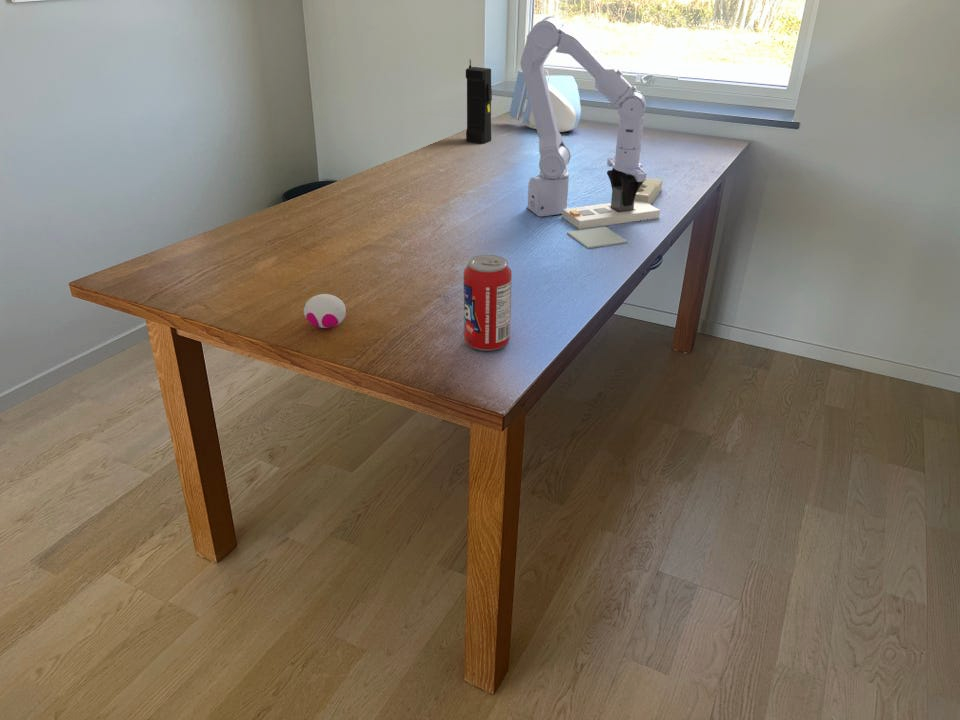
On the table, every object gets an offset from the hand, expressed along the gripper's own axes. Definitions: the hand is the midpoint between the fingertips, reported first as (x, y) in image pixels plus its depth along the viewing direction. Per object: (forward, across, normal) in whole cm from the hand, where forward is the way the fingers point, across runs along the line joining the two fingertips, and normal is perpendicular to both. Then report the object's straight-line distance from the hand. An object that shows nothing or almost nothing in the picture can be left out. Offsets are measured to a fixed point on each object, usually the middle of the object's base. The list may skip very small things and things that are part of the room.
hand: (622, 202), depth 183 cm
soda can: (+4, -48, +55) cm, 73 cm away
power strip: (+3, 0, +3) cm, 5 cm away
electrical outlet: (+4, +11, -12) cm, 17 cm away
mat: (+3, -11, +13) cm, 17 cm away
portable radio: (+4, +80, +6) cm, 80 cm away
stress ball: (+4, -32, +80) cm, 86 cm away
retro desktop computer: (+4, +89, -24) cm, 92 cm away
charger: (+3, 0, 0) cm, 3 cm away
